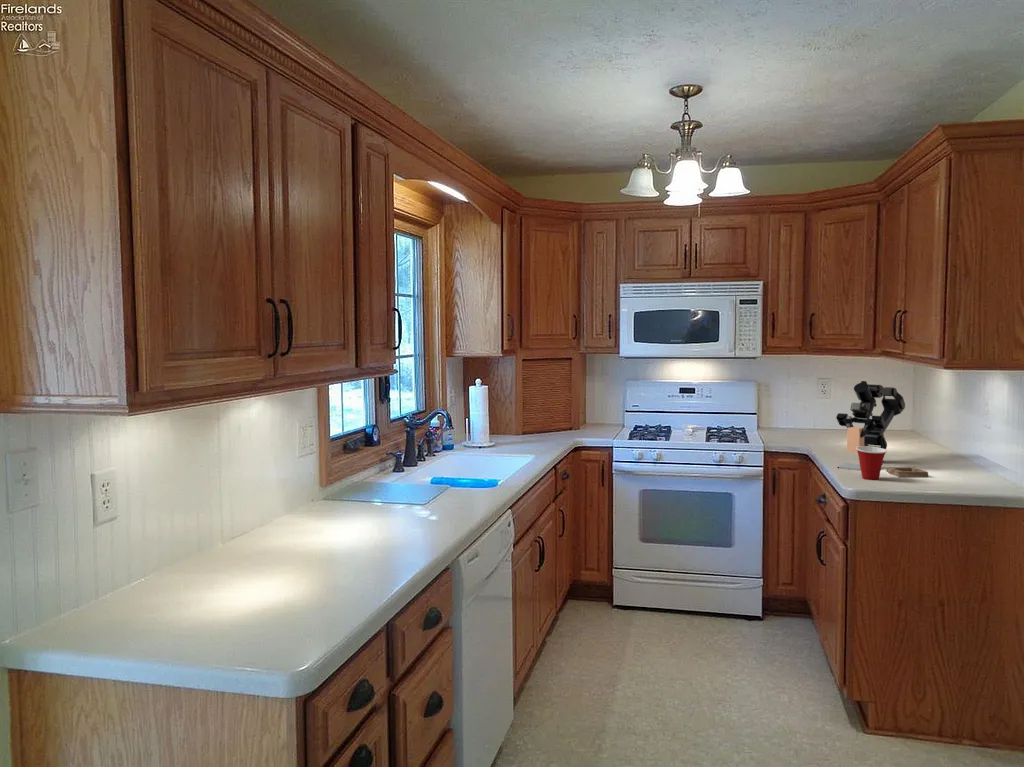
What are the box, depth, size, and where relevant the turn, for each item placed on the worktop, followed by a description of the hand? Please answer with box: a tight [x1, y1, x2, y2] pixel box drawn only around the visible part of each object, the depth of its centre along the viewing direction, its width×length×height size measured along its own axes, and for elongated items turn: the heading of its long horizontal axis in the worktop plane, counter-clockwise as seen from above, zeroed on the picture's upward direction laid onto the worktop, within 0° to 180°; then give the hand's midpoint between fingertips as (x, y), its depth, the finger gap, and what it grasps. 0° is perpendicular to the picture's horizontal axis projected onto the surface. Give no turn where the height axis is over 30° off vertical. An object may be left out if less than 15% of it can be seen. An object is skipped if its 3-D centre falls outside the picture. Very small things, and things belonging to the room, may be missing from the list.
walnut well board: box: [885, 466, 929, 478], centre depth 295 cm, size 11×11×2 cm
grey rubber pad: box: [836, 462, 861, 471], centre depth 312 cm, size 11×11×1 cm
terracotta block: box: [846, 426, 864, 454], centre depth 311 cm, size 5×5×10 cm
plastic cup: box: [856, 446, 888, 481], centre depth 288 cm, size 11×11×12 cm
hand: (854, 436), depth 310 cm, fingers closed on terracotta block, 5 cm apart
